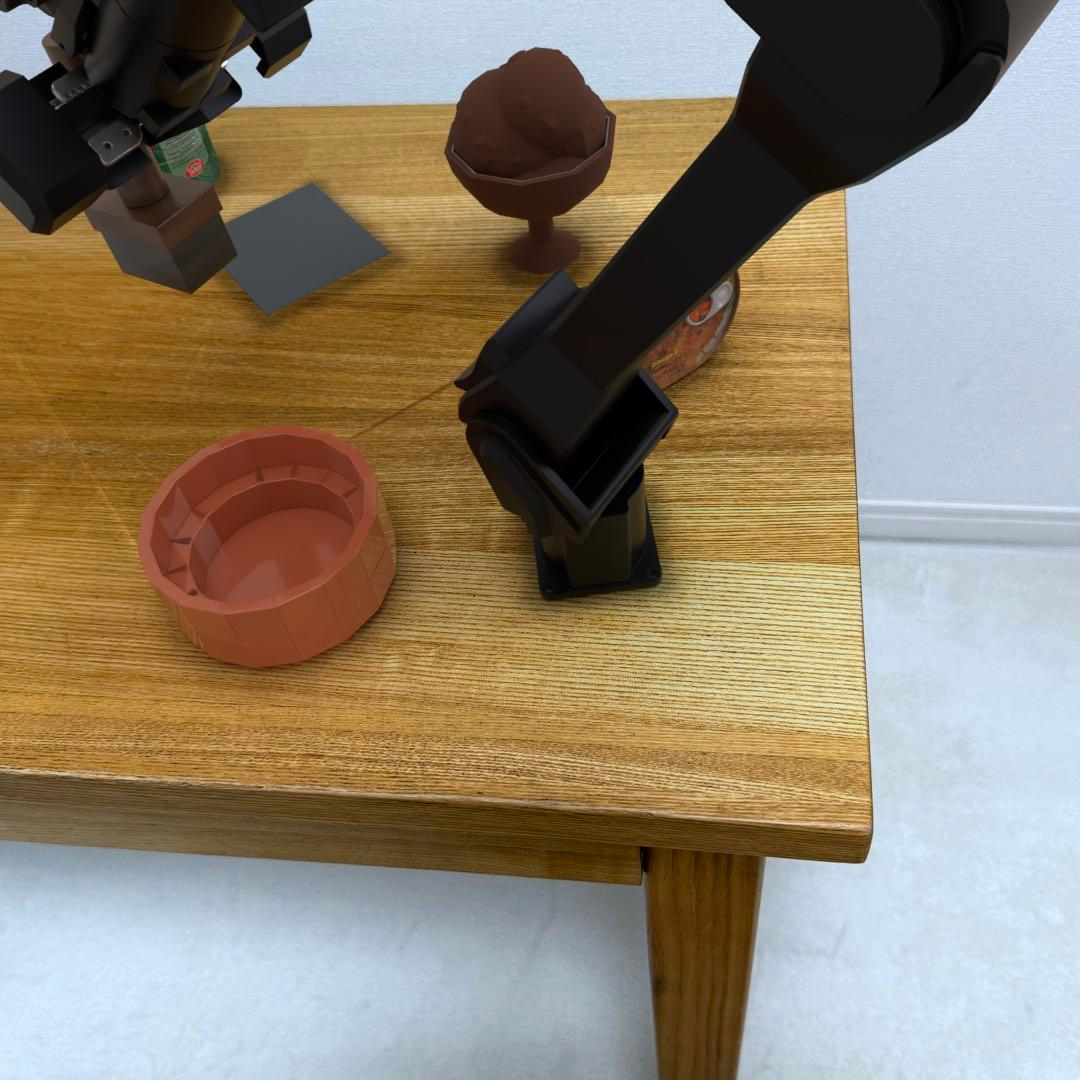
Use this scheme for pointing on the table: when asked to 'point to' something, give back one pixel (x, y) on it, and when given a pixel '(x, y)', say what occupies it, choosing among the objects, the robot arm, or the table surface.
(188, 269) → the brush
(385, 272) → the table surface
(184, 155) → the canned tomato
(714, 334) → the tin
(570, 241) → the ice cream bowl
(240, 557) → the bowl
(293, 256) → the mat
